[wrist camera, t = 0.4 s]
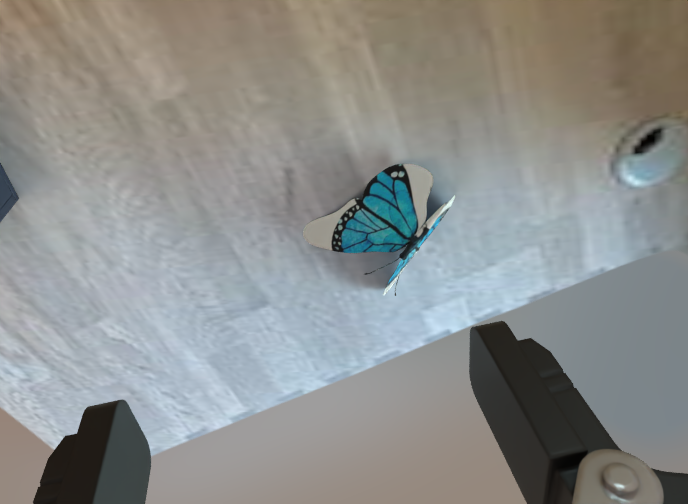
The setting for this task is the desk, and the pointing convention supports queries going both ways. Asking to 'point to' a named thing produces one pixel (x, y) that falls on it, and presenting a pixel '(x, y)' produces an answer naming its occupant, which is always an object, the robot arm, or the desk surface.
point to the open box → (6, 194)
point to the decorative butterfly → (382, 217)
